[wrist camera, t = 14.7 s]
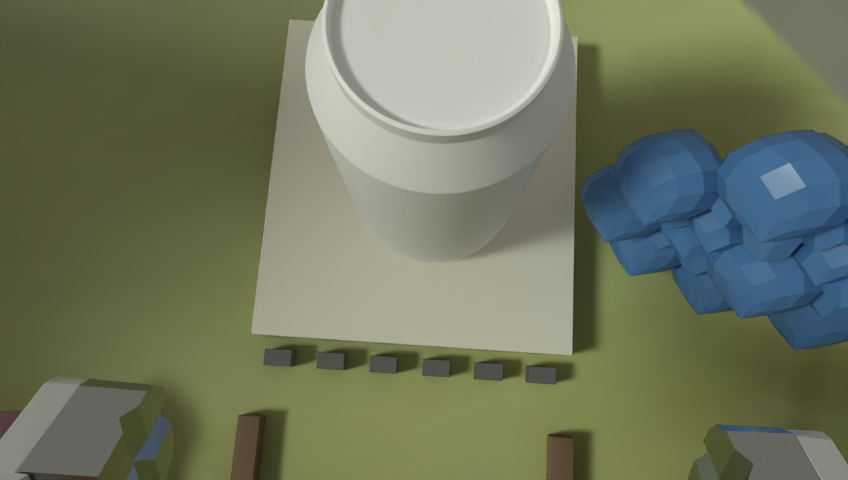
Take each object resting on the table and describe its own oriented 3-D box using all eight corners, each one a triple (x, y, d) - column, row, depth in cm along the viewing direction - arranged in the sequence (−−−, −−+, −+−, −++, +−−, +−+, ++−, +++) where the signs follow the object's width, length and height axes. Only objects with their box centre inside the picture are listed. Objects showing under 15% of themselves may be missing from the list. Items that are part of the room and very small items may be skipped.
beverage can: (471, 294, 23) (521, 221, 11) (326, 225, 24) (231, 86, 12) (537, 154, 24) (644, -44, 13) (397, 91, 25) (374, -156, 13)
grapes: (866, 254, 25) (1267, 153, 13) (803, 405, 24) (1182, 444, 12) (606, 122, 26) (760, -81, 14) (534, 260, 25) (635, 162, 13)
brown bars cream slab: (188, 872, 20) (174, 903, 19) (290, 34, 27) (284, 19, 26) (560, 901, 20) (568, 934, 19) (575, 51, 27) (582, 37, 25)
